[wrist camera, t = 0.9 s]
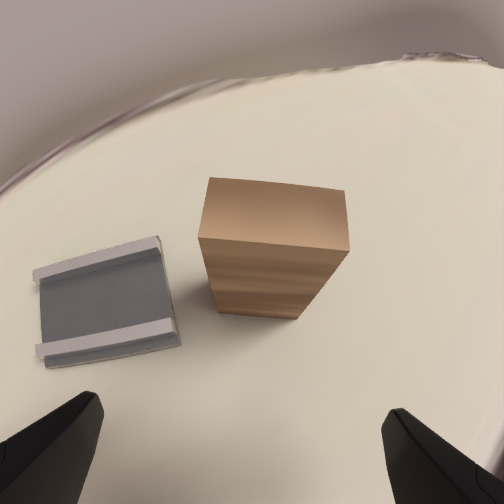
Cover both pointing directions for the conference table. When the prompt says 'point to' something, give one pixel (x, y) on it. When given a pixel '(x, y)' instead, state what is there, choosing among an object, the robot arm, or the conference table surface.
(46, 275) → the door track
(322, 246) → the upright wooden block
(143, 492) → the conference table surface
